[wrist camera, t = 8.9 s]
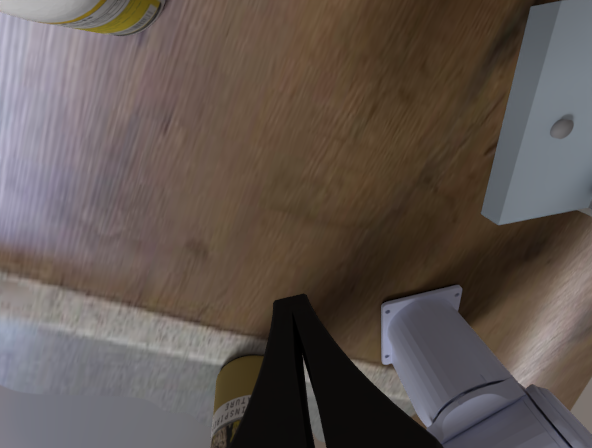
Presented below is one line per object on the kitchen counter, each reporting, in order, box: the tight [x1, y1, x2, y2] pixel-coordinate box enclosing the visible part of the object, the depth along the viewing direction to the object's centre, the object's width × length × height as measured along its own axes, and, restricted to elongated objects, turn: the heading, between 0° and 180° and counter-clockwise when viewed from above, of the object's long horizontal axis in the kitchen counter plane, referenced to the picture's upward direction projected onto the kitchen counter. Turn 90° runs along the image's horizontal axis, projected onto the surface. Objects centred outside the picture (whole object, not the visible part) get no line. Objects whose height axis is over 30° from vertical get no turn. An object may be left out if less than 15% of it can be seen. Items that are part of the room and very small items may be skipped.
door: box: [481, 0, 592, 225], centre depth 20 cm, size 14×8×3 cm, turn 7°
